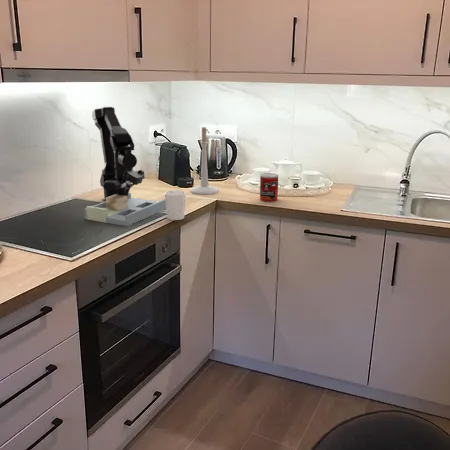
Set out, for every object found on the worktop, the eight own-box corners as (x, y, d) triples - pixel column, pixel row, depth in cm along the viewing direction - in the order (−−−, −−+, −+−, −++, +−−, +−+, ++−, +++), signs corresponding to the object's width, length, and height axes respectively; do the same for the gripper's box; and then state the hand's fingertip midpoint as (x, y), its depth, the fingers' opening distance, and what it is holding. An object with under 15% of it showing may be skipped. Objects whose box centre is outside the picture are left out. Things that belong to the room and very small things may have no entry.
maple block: (106, 208, 201) (105, 197, 200) (115, 205, 206) (115, 194, 205) (118, 210, 199) (118, 199, 197) (127, 206, 204) (127, 195, 202)
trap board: (85, 219, 195) (84, 206, 193) (129, 201, 218) (128, 190, 217) (127, 226, 186) (127, 213, 185) (168, 207, 210) (168, 195, 209)
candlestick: (219, 188, 242) (218, 124, 233) (217, 195, 230) (217, 128, 221) (192, 187, 243) (191, 124, 234) (189, 194, 231) (188, 127, 222)
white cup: (180, 221, 192) (179, 196, 189) (161, 219, 194) (160, 194, 191) (189, 216, 199) (188, 191, 196) (170, 214, 201) (170, 189, 198)
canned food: (257, 200, 221) (258, 175, 218) (263, 196, 228) (263, 172, 225) (274, 202, 218) (275, 177, 215) (279, 198, 225) (280, 173, 222)
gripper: (124, 170, 190) (127, 210, 195) (152, 161, 206) (154, 198, 211) (100, 167, 195) (104, 207, 199) (129, 159, 211) (131, 196, 215)
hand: (124, 202), depth 206 cm, fingers closed
